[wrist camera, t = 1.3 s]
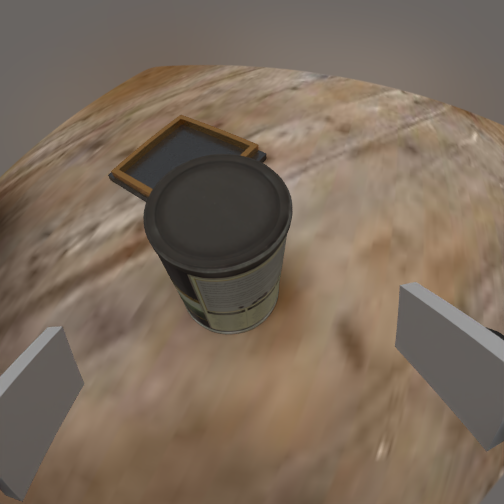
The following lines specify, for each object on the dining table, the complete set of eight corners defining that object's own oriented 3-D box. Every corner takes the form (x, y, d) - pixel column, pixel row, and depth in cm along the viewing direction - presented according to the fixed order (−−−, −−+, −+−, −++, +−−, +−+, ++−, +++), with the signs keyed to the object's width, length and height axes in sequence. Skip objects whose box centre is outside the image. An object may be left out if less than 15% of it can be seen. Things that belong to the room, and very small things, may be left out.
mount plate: (110, 179, 42) (105, 169, 40) (178, 122, 48) (176, 112, 46) (196, 232, 37) (193, 221, 35) (266, 158, 43) (266, 147, 41)
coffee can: (166, 315, 32) (116, 243, 20) (205, 236, 37) (184, 143, 25) (260, 349, 30) (264, 294, 18) (291, 262, 35) (308, 170, 23)
